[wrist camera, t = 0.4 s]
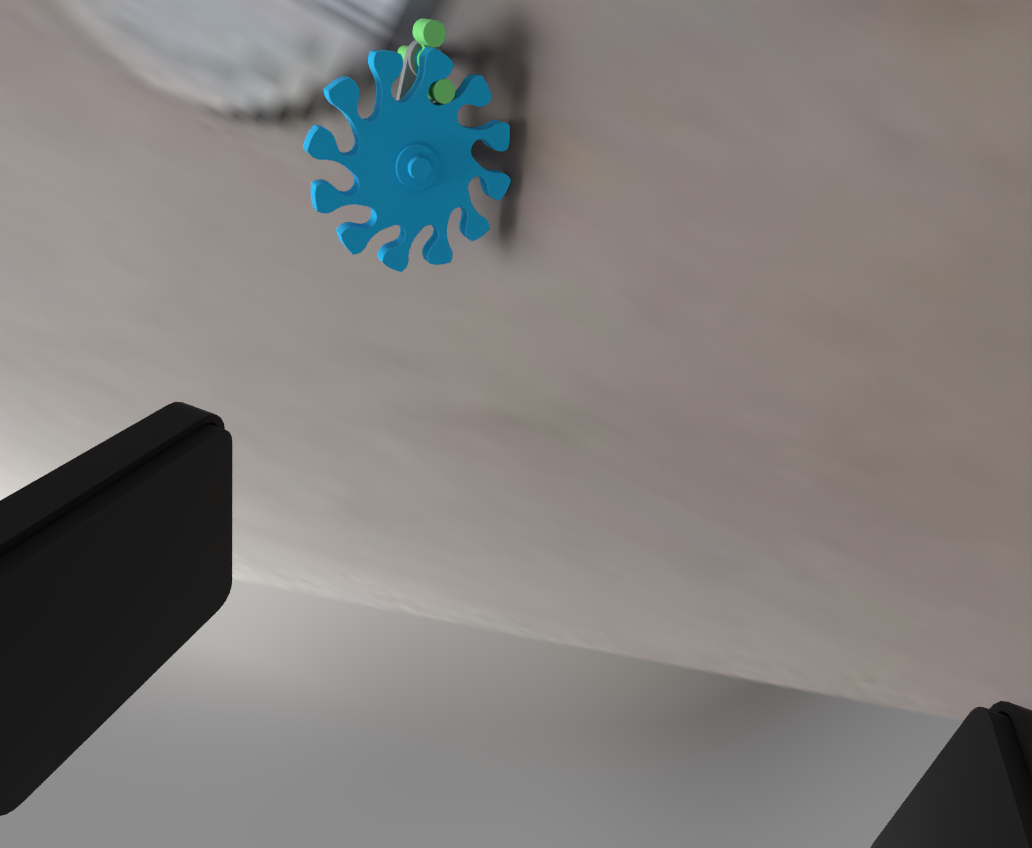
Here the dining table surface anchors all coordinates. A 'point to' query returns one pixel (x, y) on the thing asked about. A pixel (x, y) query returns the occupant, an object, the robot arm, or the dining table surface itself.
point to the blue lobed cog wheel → (410, 151)
